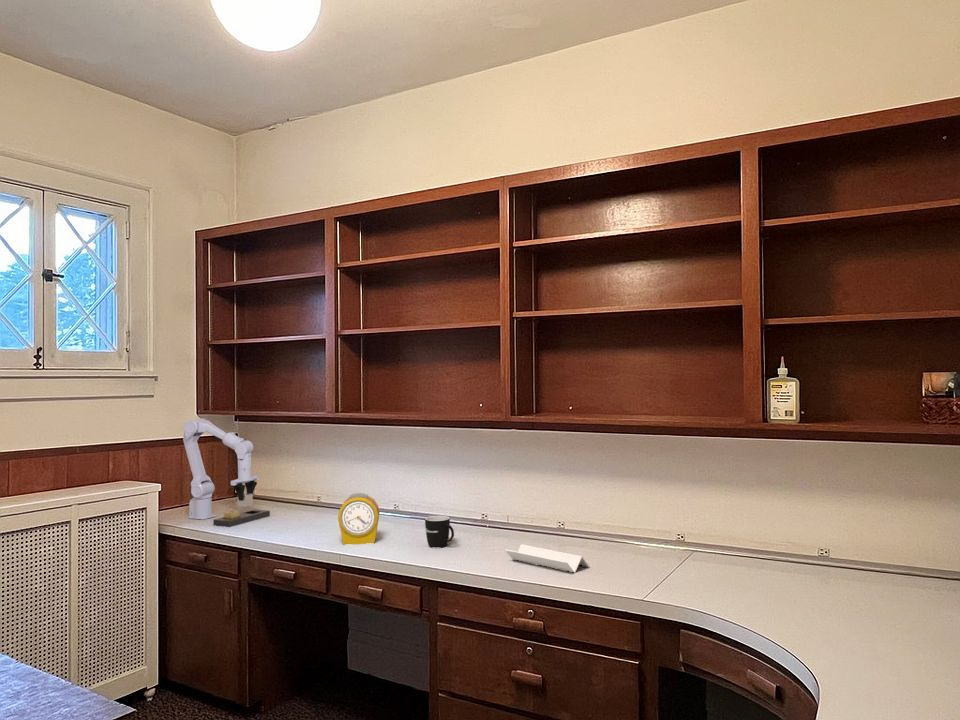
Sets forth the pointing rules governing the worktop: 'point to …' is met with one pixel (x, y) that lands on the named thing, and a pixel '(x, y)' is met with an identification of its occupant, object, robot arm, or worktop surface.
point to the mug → (438, 531)
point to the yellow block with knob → (231, 515)
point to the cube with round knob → (246, 500)
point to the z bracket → (548, 558)
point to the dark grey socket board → (242, 518)
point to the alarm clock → (358, 519)
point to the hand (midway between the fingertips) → (245, 499)
